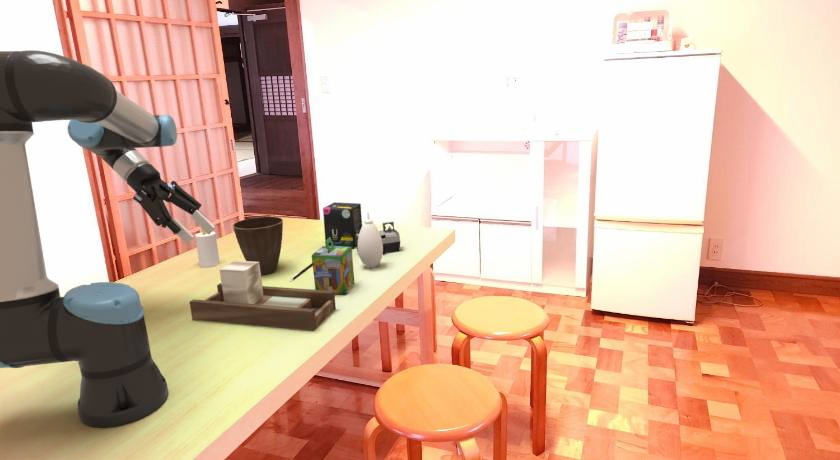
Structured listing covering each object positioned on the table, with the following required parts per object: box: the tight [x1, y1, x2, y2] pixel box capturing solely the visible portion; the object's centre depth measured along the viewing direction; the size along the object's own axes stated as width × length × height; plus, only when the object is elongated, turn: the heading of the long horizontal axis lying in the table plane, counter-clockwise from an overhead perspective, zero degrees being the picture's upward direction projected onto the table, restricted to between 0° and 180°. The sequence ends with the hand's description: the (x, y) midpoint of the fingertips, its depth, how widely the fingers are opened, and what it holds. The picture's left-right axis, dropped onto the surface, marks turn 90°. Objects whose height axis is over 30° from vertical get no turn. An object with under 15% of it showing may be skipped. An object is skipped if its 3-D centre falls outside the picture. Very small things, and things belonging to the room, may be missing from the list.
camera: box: [356, 221, 401, 255], centre depth 187 cm, size 15×8×10 cm, turn 108°
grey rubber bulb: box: [357, 212, 384, 269], centre depth 172 cm, size 8×8×18 cm
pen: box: [288, 262, 313, 283], centre depth 173 cm, size 1×19×1 cm, turn 165°
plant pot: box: [232, 216, 284, 276], centre depth 173 cm, size 15×15×16 cm
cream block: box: [219, 260, 264, 304], centre depth 142 cm, size 7×7×10 cm
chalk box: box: [311, 237, 356, 295], centre depth 156 cm, size 9×9×15 cm
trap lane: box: [189, 283, 337, 332], centre depth 142 cm, size 13×34×5 cm, turn 75°
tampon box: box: [322, 202, 363, 250], centre depth 197 cm, size 11×9×15 cm
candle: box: [194, 227, 221, 269], centre depth 181 cm, size 6×6×15 cm
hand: (201, 235), depth 141 cm, fingers open, 8 cm apart
